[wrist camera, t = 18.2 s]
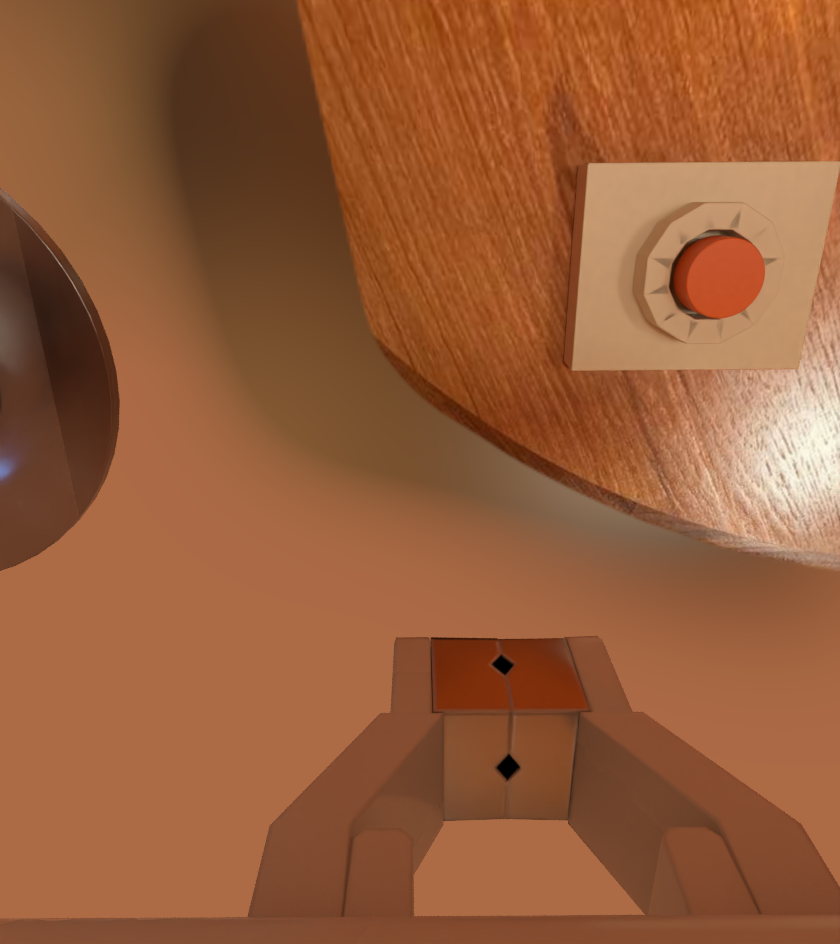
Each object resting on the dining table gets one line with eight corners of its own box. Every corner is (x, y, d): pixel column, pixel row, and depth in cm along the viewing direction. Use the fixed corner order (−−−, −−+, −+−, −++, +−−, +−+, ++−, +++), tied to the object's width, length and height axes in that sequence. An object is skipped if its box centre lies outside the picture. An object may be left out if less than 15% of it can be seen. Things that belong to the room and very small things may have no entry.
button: (668, 313, 33) (681, 319, 32) (678, 235, 32) (691, 237, 30) (741, 312, 33) (758, 318, 32) (754, 234, 32) (772, 236, 30)
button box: (563, 361, 38) (578, 379, 34) (577, 164, 34) (597, 161, 30) (778, 359, 38) (817, 377, 34) (816, 163, 34) (865, 158, 30)
